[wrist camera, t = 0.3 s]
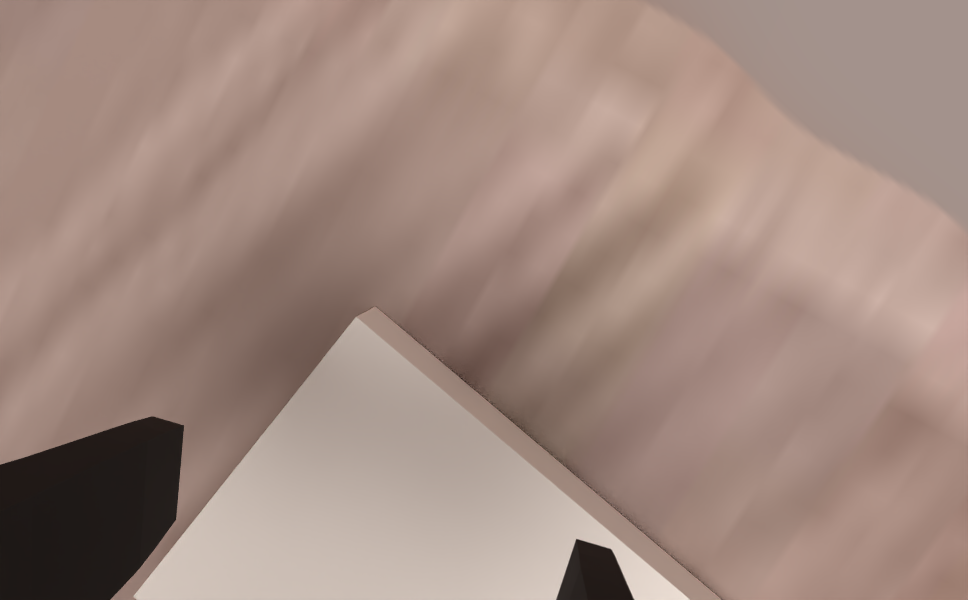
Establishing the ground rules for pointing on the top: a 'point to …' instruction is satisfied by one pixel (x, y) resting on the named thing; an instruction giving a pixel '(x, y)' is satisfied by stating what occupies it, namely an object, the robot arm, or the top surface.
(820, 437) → the top surface
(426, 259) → the top surface
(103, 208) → the top surface
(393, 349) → the dock
